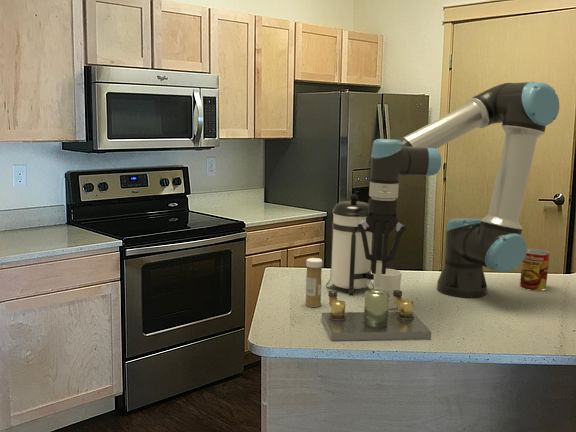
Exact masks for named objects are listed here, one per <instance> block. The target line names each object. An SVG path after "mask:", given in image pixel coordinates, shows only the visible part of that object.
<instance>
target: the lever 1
mask: <svg viewBox="0 0 576 432" xmlns="http://www.w3.org/2000/svg"><path fill="white" fill-rule="evenodd" d="M327 293H328V294H327V295H328V297H329V299H328V300H329V301H328V304H329V306H330V311H331V312H330V313H331V318H333V319H344V318H345V312H346V301H344V300H340V299H338V298H337V297H338V291H337V290H328V292H327Z"/></svg>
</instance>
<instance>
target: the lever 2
mask: <svg viewBox="0 0 576 432" xmlns="http://www.w3.org/2000/svg"><path fill="white" fill-rule="evenodd" d="M393 296H394V304H395V306H396V308H397V309H398V312H399V317H400V318H404V319H410V318H412V316H413V312H414V301H413V300H410V299H404V298H403V297H402V296H403V291H402V290H401V289H400V290H394V291H393Z"/></svg>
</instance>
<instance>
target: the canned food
mask: <svg viewBox="0 0 576 432" xmlns="http://www.w3.org/2000/svg"><path fill="white" fill-rule="evenodd" d="M549 263H550V251H547V250H544V249H537V248H527V252H526V256H525V258H524V260H523V261H522V263H521V270H520V271H521V272H520V278H519V281H520V282H519V287H520V288H521V287H522V288H521V289H523V288H525V289H524V290H526V289H530V290H542V289H545V288H546V289H547V283H548V280H547V279H548V271H549ZM530 290H529V291H530Z"/></svg>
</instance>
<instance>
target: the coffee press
mask: <svg viewBox="0 0 576 432" xmlns="http://www.w3.org/2000/svg"><path fill="white" fill-rule="evenodd" d="M358 197H359V196H358V194H356V193H352V194H351V195H350V197H349V198H350V200H345V201H340V202H338V203H336V204H335V205H334V207H333V209H331V210H332V214H333V220H332V224H331V225H332V227H331V231H332V232H331V237H332V241H331V252H330V253H331V254H330V263H331V267H330V276H329V280H328V282H326V284H325V285H326V289H328V290H330V289H331V288H333V287H334V286H335V287H337V288H340V289H345V290H347V289H348V296H354V293H355V292H354V290H360V289H362V288H363V289H365V288H367V289H368V290H372V289H374V283H373V282H372V281H374V274H372V272H371V265H372V261H370V260H367V259H366V257H365V251H364V246H363V240H362V235H361V232H360V230H359V228H358V226H357V224H358V223H361V222H363V221H365V220H366V217H367V215H368V205H369V203H367V202H364V201H359V200H358ZM357 200H358V201H357ZM366 227H367V228H366V229H365V232H366V236H367V242H368V247H369V253H370V255H372V248H373V231H372V230H371V228H370V227H369V225H368V224H367V225H366ZM382 243H383V233H379V238H378V252H377V261H382ZM330 282H331V283H332V285H330V286H328V284H330ZM369 284H371V285H372V288H370V286H369Z"/></svg>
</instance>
